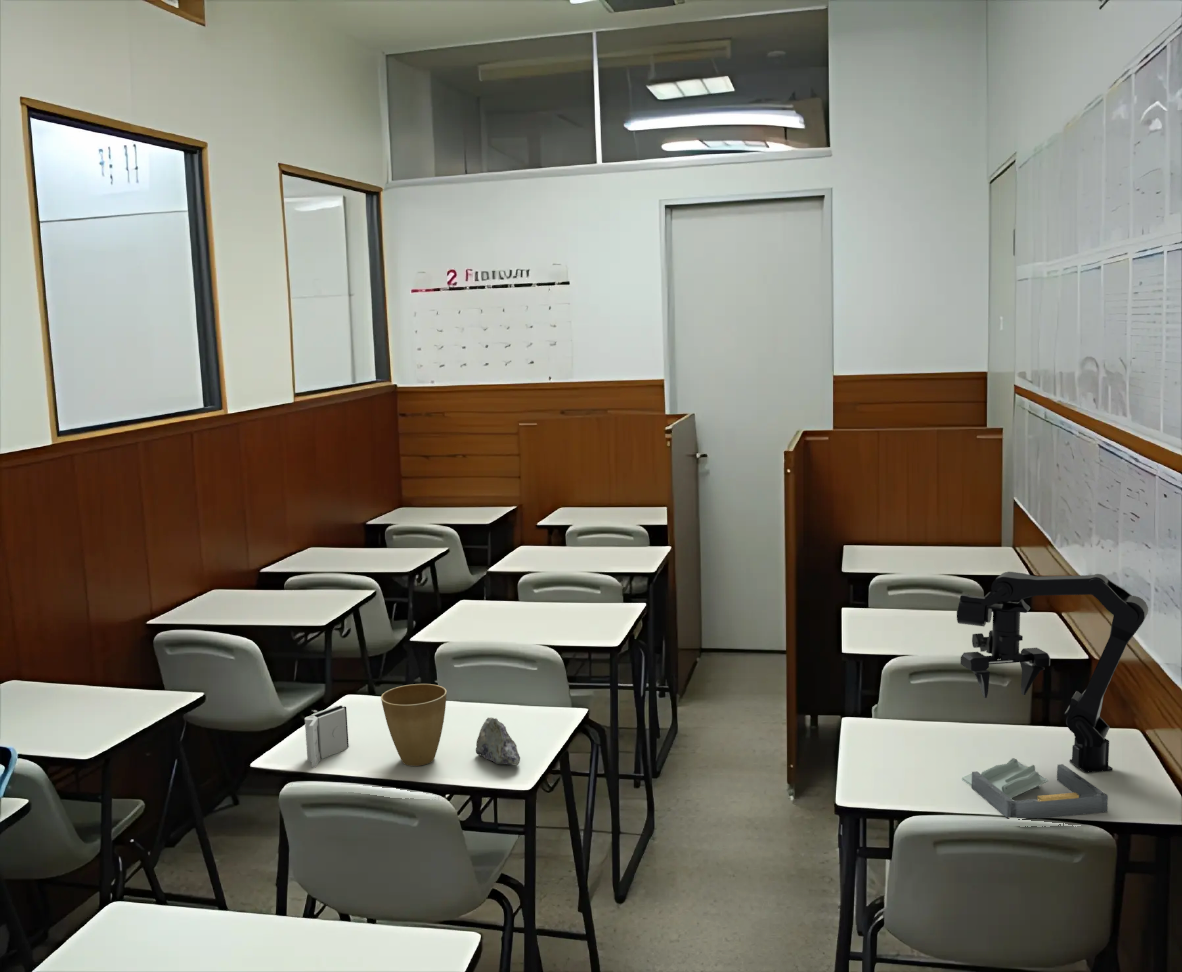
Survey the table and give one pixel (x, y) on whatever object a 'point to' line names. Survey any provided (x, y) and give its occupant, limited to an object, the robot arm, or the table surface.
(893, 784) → the table surface
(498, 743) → the mineral rock
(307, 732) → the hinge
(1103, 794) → the rail dock
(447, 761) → the table surface
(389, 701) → the plant pot
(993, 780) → the metal bracket
